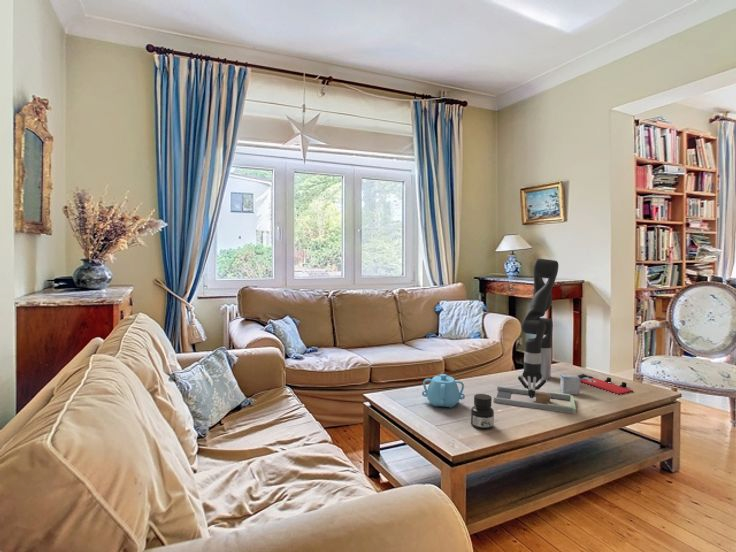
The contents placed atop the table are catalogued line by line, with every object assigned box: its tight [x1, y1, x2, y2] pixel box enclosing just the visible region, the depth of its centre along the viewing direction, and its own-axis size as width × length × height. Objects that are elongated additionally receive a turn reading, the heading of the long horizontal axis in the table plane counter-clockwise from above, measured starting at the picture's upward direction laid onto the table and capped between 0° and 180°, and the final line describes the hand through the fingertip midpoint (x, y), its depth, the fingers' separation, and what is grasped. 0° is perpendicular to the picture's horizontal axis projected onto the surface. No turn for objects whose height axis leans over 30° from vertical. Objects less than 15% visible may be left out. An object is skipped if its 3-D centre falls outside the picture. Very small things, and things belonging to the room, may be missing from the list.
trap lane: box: [493, 385, 577, 415], centre depth 196 cm, size 19×34×2 cm, turn 67°
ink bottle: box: [470, 393, 495, 431], centre depth 168 cm, size 10×9×12 cm
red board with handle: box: [576, 373, 634, 396], centre depth 221 cm, size 30×3×15 cm
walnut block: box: [535, 391, 551, 404], centre depth 194 cm, size 6×6×4 cm
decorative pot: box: [421, 373, 466, 408], centre depth 192 cm, size 16×16×14 cm
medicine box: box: [559, 374, 581, 395], centre depth 207 cm, size 8×4×9 cm, turn 84°
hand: (531, 397), depth 196 cm, fingers closed
